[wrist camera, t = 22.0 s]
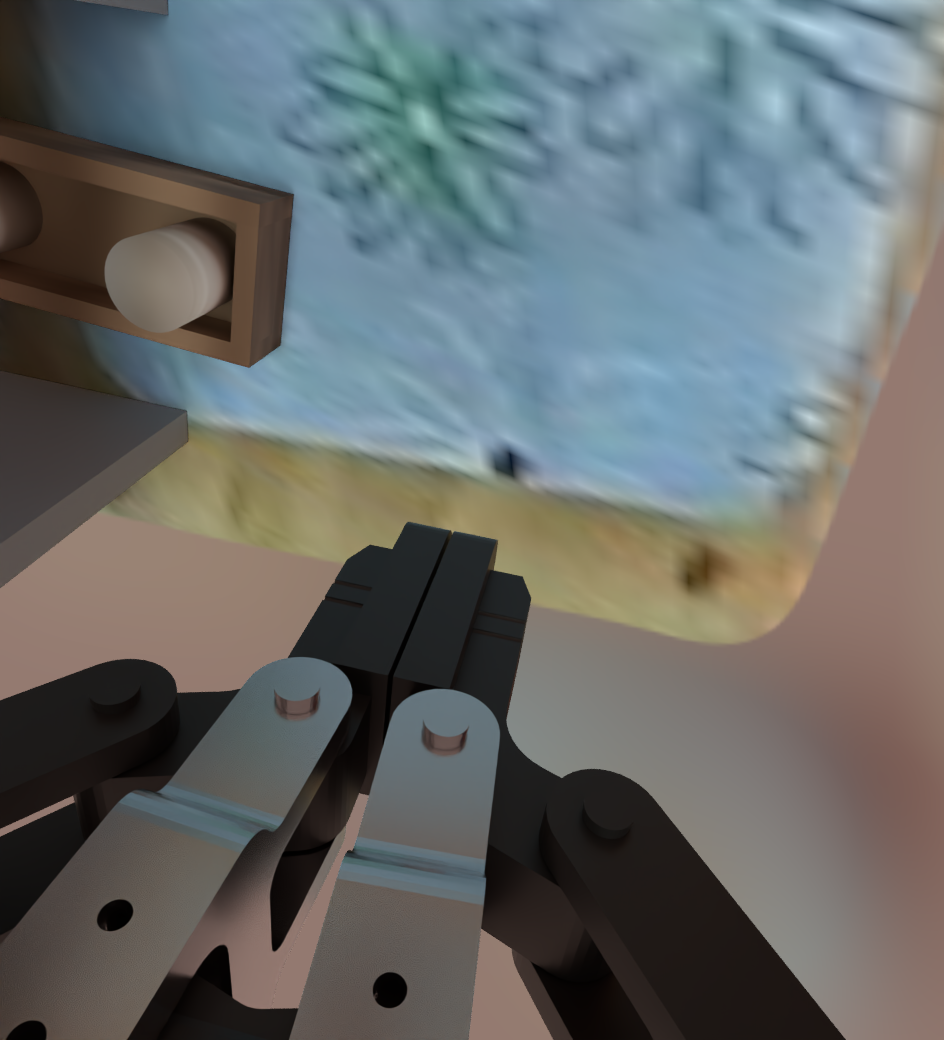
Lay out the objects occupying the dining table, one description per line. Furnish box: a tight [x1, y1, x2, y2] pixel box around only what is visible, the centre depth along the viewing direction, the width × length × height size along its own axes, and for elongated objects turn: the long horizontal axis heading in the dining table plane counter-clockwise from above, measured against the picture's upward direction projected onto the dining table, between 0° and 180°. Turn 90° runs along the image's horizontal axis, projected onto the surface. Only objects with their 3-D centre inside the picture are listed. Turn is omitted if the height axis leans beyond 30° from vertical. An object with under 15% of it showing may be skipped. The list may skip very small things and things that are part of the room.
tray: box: [0, 117, 293, 368], centre depth 29 cm, size 14×6×5 cm, turn 77°
